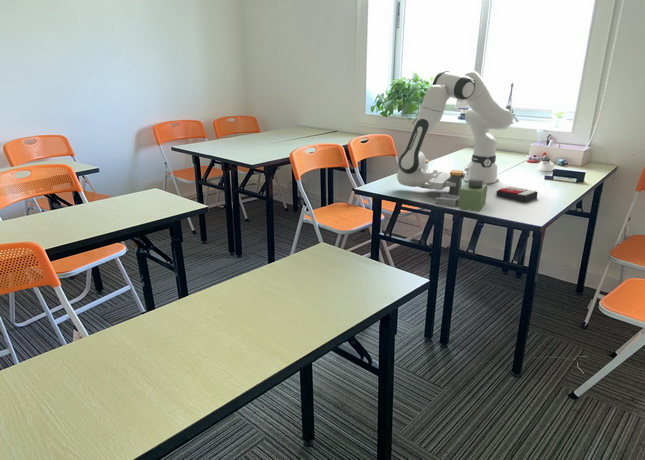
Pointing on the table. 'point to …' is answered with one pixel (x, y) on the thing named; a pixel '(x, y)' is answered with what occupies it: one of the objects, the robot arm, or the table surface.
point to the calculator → (517, 194)
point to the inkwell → (545, 164)
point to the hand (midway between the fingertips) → (457, 183)
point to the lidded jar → (426, 164)
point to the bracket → (448, 199)
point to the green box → (473, 195)
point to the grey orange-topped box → (456, 177)
